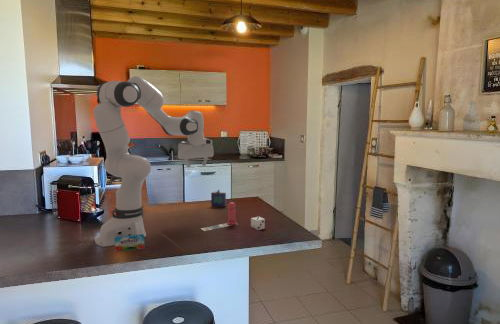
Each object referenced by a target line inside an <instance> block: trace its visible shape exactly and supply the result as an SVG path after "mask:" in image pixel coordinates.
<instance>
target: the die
mask: <svg viewBox="0 0 500 324" xmlns="http://www.w3.org/2000/svg"><path fill="white" fill-rule="evenodd" d="M265 222H266V220H265V218H263V217H261V216H256V217H251V218H250V227H251V228H252V229H255V230H256V231H259V230H264V229H265V227H266V225H265Z"/></svg>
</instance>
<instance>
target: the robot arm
mask: <svg viewBox="0 0 500 324" xmlns="http://www.w3.org/2000/svg"><path fill="white" fill-rule="evenodd" d="M96 98H97V99H96V103H97V105H95V107H94V108H93V112H92V113H93V117H94V121H95V124H96V129H97V131H98V134H99V135H100V138H101V140H102V142H103V145H104V149H105V153H106V154H105V155H106V156H105V157H106V159H105V161H104V170H105V171H106V172H107V173H108V174H110V175H111V176H114V177H117V178H121V183H120V187H119V188H118V189H117V190H116V191H115V202H116V204H115V205H116V207H115V208H114V209H113V208H110V209H109V213H110V214H111V215H112V216H111V218H109V219H108V220H107V221H106V222H105V223H103V225H101V226H100V231H99V235H96V236H95V237H94V243H95V244H96V245H97V246H99V247H103V248H105V247H112V246H115V241H114V238H115V237H118V236H128V235H139V234H144V238H145V237H147V233H146V230H145V226H144V225H145V224H144V220H143V218H144V209H143V205H142V190H143V185H144V182H145V180H146V178H148V177H149V175H150V174H151V172H152V165H151V162H150V160H148V159H147V158H146V157H143V156H141V155H137V154H131V153H129V150H128V149H129V148H128V147H129V144H130V142H131V137H130V135H129V132H128V130H127V127H126V125H125V121H124V120H123V118H122V114H121V113H122V112H121V111H122V108H129V107H132V106H134V105H135V104H136V103H137V104H138V105H139V106H140V107H141V108H143V109H144V110H145V112H146V113H147V114H148V115H149V116H151V118H152V119H153V120H155V122H157V123H158V124H159V126H160V127H161V128H162V130H163V132H164V133H165V134H166V135H167V136H171V137H172V136H174V137H175V136H180V137H181V136H183V137H186V136H187V141H180V142H179V143H178V145H177V149H178V150H177V158H178V159H180V160H184V162H185V164H186V167H187V168H191V163H189V160H190V159H201V158H202V159H203V161H202V163H201V165H202V166H206V165H207V162H208V159H209V158H213V157H214V155H215V152H214V146H213V140H212V139H209V138H206V137H205V134H204V129H205V122H204V121H205V119H204V116H203V113H202V112H201V111H198V110H188V112H187V113H186V114H185V115H183V116H170V115H168V114H167V113H166V112H165V111H164V110H163V109H162V107H163V105H164V102H165V97H164V95H163V94H162V92H161V91H159V89H157V87H155V85H153V84H152V83H150V82H149V81H148V80H146V79H145V78H143V77H141V76H138V75H136V76H135V75H133V76H132V77H130V78H129V79H127V81H126V80H125V81H121V80H111V81H104V82H102V83H101V84H99V86H98V87H97V89H96Z"/></svg>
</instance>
